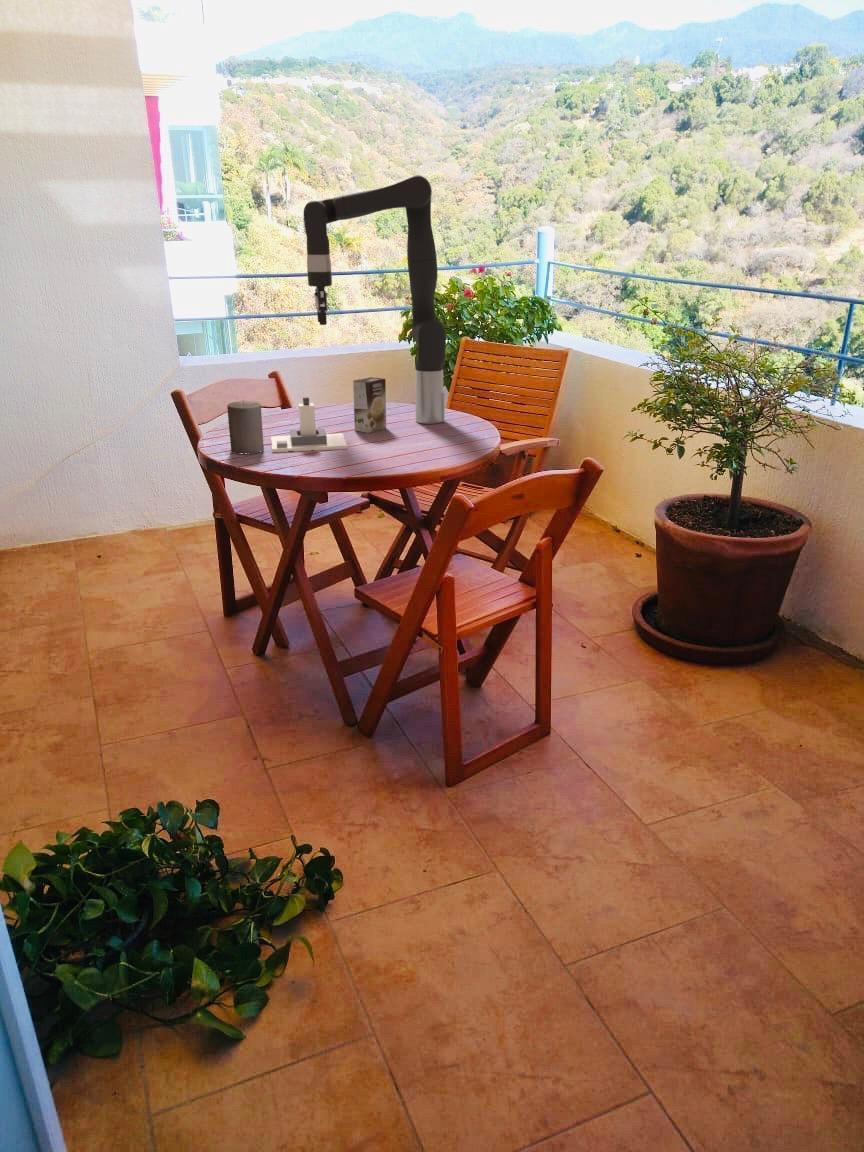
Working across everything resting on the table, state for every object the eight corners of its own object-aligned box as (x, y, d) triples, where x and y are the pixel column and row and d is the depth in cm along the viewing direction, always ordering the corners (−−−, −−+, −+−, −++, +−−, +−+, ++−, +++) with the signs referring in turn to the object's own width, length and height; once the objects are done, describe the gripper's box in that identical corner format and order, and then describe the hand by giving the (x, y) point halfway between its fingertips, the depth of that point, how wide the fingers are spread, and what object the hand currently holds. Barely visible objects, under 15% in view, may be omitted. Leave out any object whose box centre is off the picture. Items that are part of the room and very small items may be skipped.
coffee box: (369, 433, 266) (368, 382, 259) (354, 430, 269) (352, 380, 263) (387, 428, 273) (385, 378, 266) (371, 425, 276) (370, 376, 270)
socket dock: (342, 436, 262) (341, 425, 260) (347, 448, 247) (346, 437, 246) (271, 439, 258) (270, 428, 257) (272, 452, 243) (271, 440, 242)
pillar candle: (224, 453, 243) (219, 401, 237) (241, 445, 252) (237, 395, 246) (253, 456, 240) (249, 404, 234) (270, 448, 249) (267, 397, 243)
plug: (315, 439, 254) (312, 396, 249) (316, 442, 251) (313, 398, 246) (300, 439, 254) (298, 396, 249) (301, 442, 250) (298, 399, 245)
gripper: (333, 271, 257) (335, 325, 263) (329, 268, 270) (332, 320, 276) (308, 271, 255) (311, 326, 262) (306, 269, 268) (309, 321, 275)
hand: (322, 323), depth 269 cm, fingers open, 8 cm apart
